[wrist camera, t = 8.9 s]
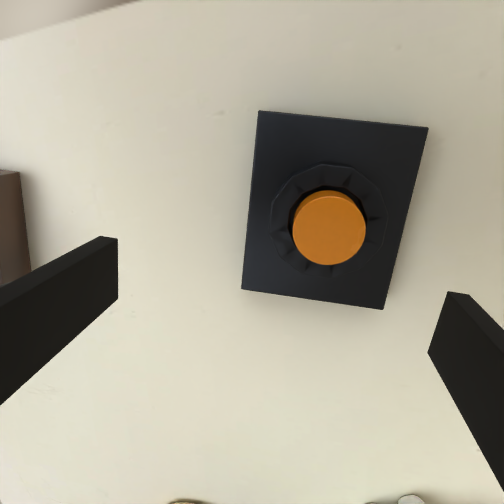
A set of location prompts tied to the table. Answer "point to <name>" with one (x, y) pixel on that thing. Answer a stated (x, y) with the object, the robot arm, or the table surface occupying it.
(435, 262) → the table surface
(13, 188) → the plate
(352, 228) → the bell button
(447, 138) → the table surface
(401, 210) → the block
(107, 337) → the table surface
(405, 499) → the elephant figurine
